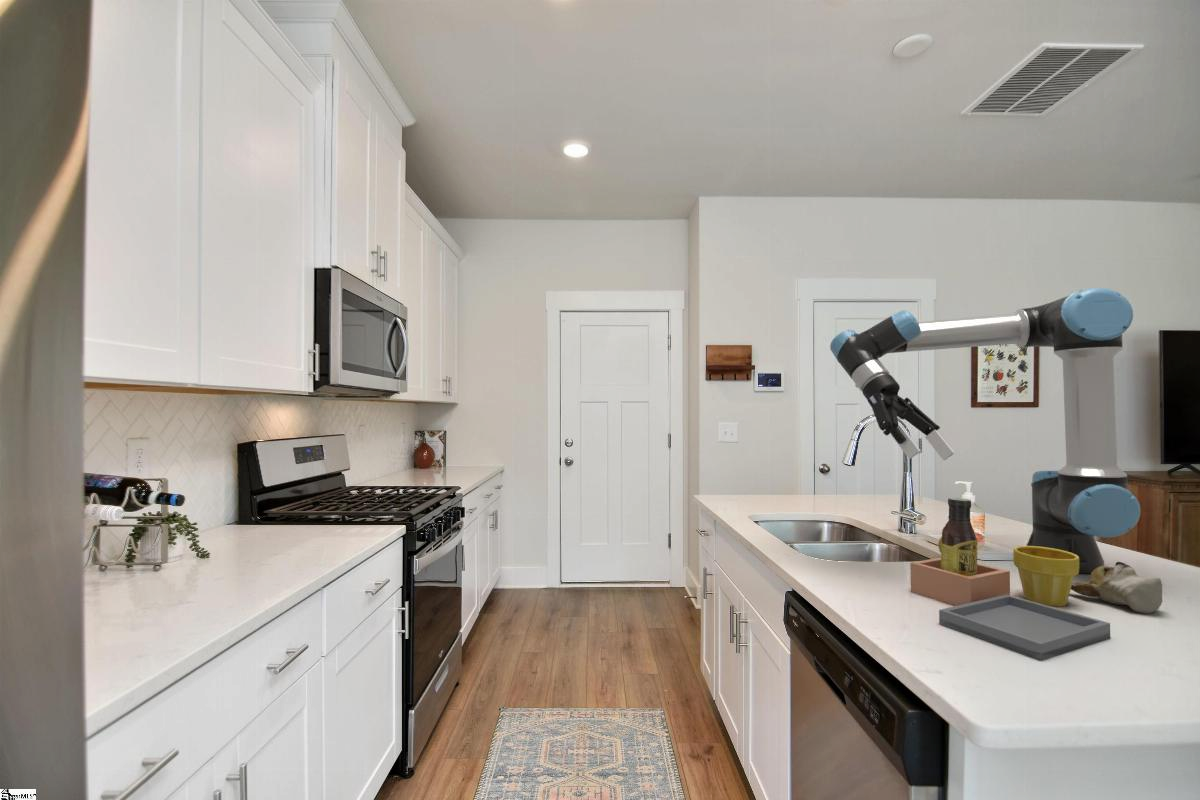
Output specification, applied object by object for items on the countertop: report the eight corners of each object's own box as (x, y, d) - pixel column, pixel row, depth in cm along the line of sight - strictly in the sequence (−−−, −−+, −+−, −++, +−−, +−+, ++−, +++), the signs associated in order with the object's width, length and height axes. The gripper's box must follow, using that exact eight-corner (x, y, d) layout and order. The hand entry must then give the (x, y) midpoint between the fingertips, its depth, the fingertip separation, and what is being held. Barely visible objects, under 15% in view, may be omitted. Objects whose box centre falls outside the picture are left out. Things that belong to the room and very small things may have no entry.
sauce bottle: (963, 603, 111) (962, 502, 111) (933, 593, 116) (932, 497, 117) (985, 598, 113) (984, 500, 113) (954, 589, 119) (953, 495, 119)
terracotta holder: (948, 583, 123) (948, 556, 123) (1010, 601, 112) (1009, 571, 112) (910, 591, 118) (910, 562, 118) (970, 610, 107) (970, 578, 107)
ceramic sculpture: (1134, 570, 103) (1057, 554, 118) (1137, 619, 102) (1059, 596, 117) (1183, 569, 104) (1101, 553, 119) (1187, 617, 103) (1104, 595, 118)
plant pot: (1093, 612, 106) (1092, 560, 106) (1030, 608, 108) (1030, 557, 108) (1059, 594, 116) (1059, 546, 116) (1003, 591, 118) (1003, 544, 118)
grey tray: (1007, 607, 108) (1007, 594, 108) (1110, 638, 94) (1110, 623, 94) (939, 623, 100) (939, 609, 100) (1040, 660, 85) (1040, 644, 85)
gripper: (894, 398, 143) (948, 466, 131) (831, 389, 130) (885, 464, 118) (917, 378, 138) (976, 447, 126) (855, 367, 125) (913, 443, 113)
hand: (932, 455), depth 122 cm, fingers open, 13 cm apart
